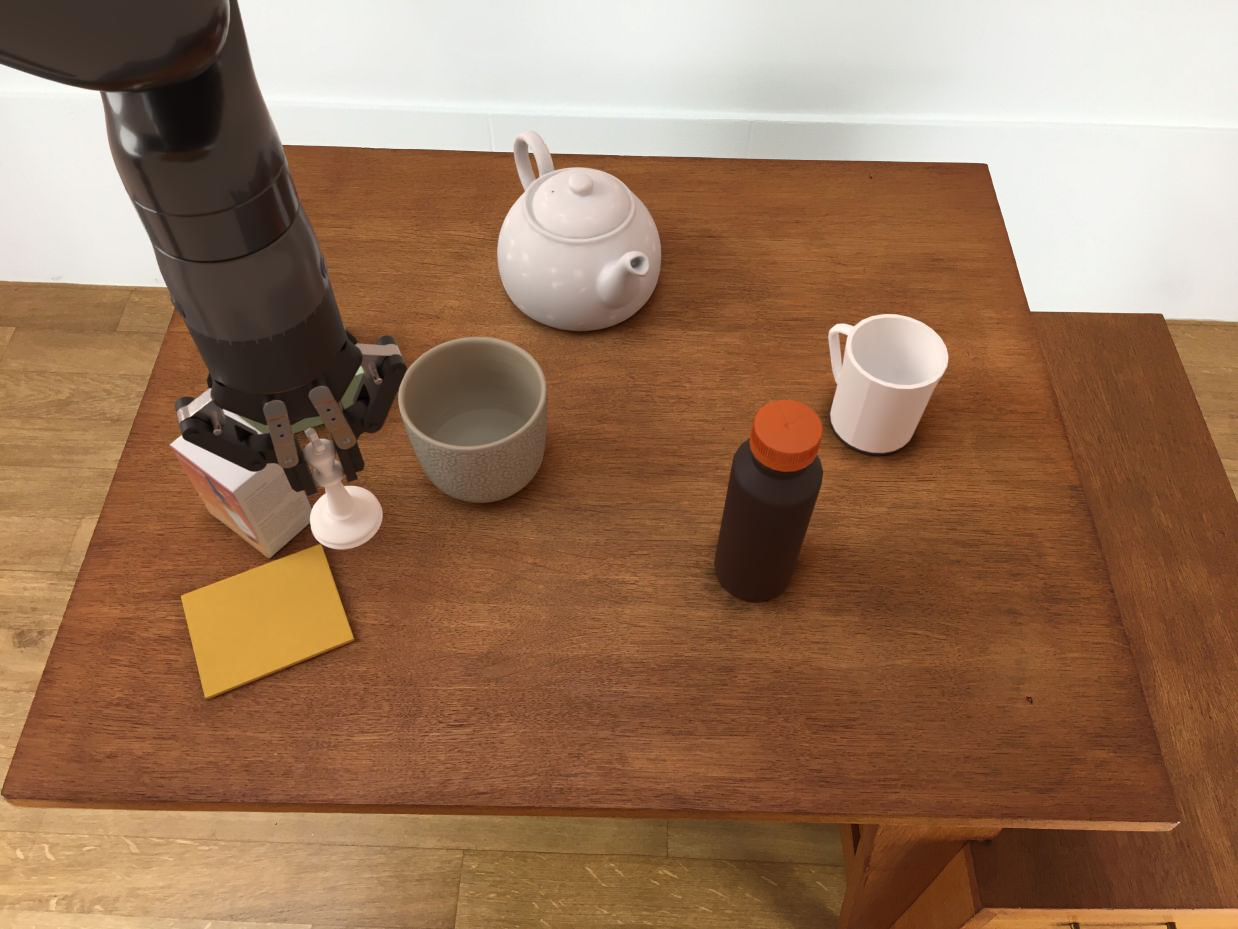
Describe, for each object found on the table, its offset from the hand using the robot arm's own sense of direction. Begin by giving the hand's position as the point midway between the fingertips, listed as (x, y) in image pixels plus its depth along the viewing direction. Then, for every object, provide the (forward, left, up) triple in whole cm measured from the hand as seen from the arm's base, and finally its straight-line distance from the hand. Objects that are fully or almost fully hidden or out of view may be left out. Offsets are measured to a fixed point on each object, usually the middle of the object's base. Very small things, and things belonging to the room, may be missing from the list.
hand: (329, 477), depth 63 cm
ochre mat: (-9, +5, -21) cm, 23 cm away
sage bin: (0, +29, -21) cm, 35 cm away
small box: (-7, +15, -21) cm, 27 cm away
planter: (+13, +12, -21) cm, 27 cm away
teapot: (+31, +31, -21) cm, 48 cm away
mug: (+48, +2, -21) cm, 52 cm away
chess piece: (0, 0, -5) cm, 5 cm away
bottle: (+30, -8, -21) cm, 38 cm away
